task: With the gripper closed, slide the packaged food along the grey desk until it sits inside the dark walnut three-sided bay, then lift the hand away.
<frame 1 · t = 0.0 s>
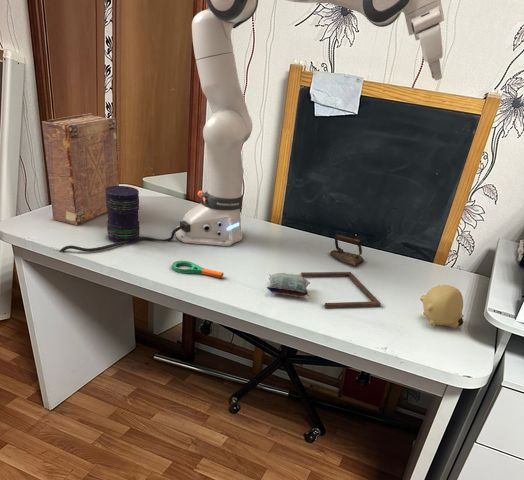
hand: (437, 78, 132), 54 cm above the table, tool tilted 30°, fingers open, 8 cm apart
dark blue cylinder: (124, 238, 157), on the table
clothes iron: (344, 259, 163), on the table
book: (88, 213, 173), on the table
packaged food: (287, 292, 138), on the table
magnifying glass: (197, 273, 142), on the table
toy pig: (437, 323, 133), on the table
bay: (333, 290, 142), on the table
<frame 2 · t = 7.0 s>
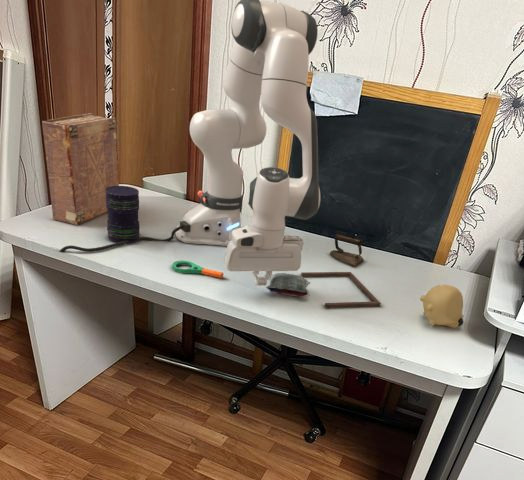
hand: (260, 284, 135), 2 cm above the table, tool pointing down, fingers closed
packaged food: (287, 292, 138), on the table, touching gripper
everything else where it was.
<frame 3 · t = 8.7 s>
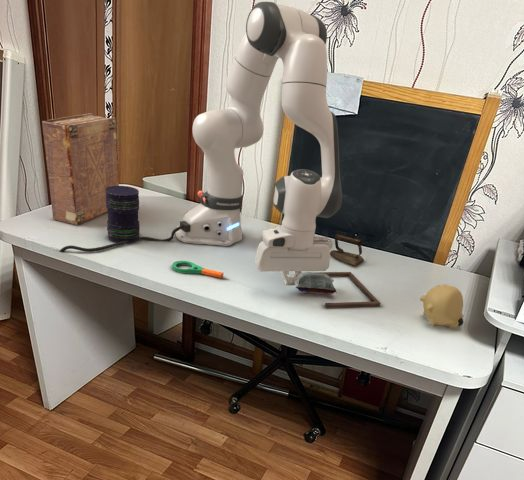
hand: (289, 284, 137), 2 cm above the table, tool pointing down, fingers closed
packaged food: (313, 290, 141), on the table, touching gripper
everything else where it was.
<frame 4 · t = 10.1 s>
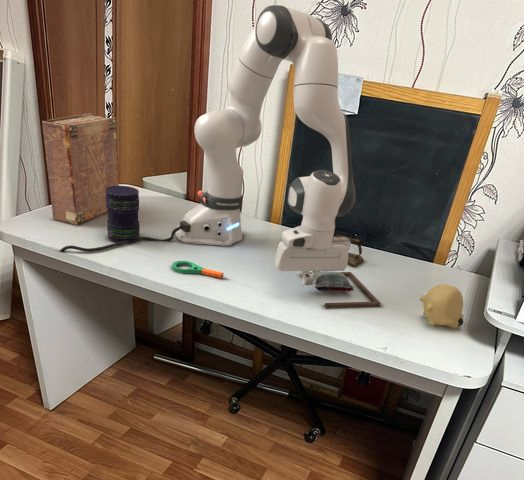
hand: (307, 284, 138), 2 cm above the table, tool pointing down, fingers closed
packaged food: (329, 289, 143), on the table, touching gripper
everything else where it was.
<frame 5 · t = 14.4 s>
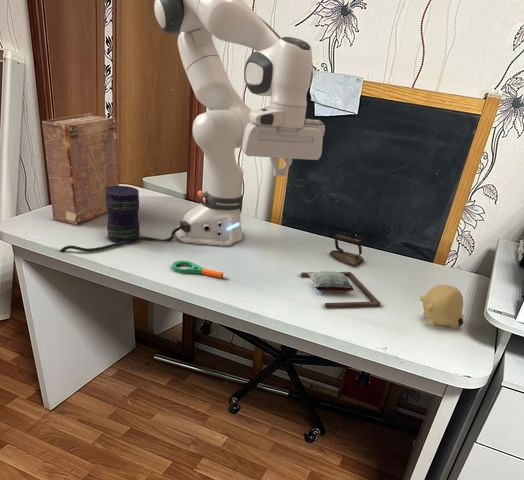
hand: (279, 175, 128), 29 cm above the table, tool pointing down, fingers closed
packaged food: (329, 289, 143), on the table
everything else where it was.
at the end: packaged food inside the target area on the bay (1.5 cm from its centre), point 0.0 cm above the bay's base; packaged food moved 13.2 cm from its start; packaged food tilted 0° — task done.
